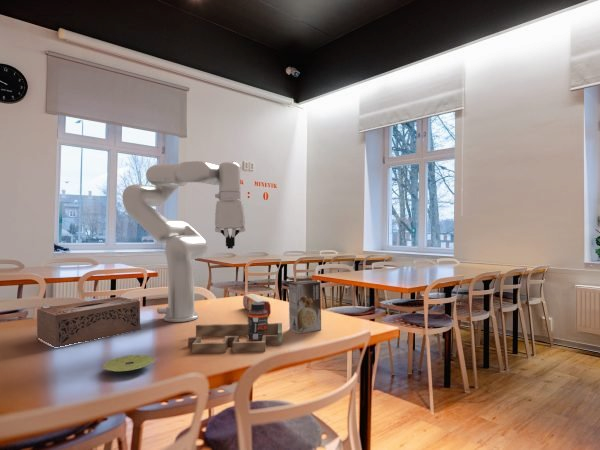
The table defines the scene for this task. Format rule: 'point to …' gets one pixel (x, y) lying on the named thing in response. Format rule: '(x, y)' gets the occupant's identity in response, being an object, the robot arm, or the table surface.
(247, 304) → the snack package
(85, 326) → the tissue box cover
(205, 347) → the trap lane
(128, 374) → the table surface
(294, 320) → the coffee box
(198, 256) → the robot arm
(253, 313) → the supplement bottle
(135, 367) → the green disc
